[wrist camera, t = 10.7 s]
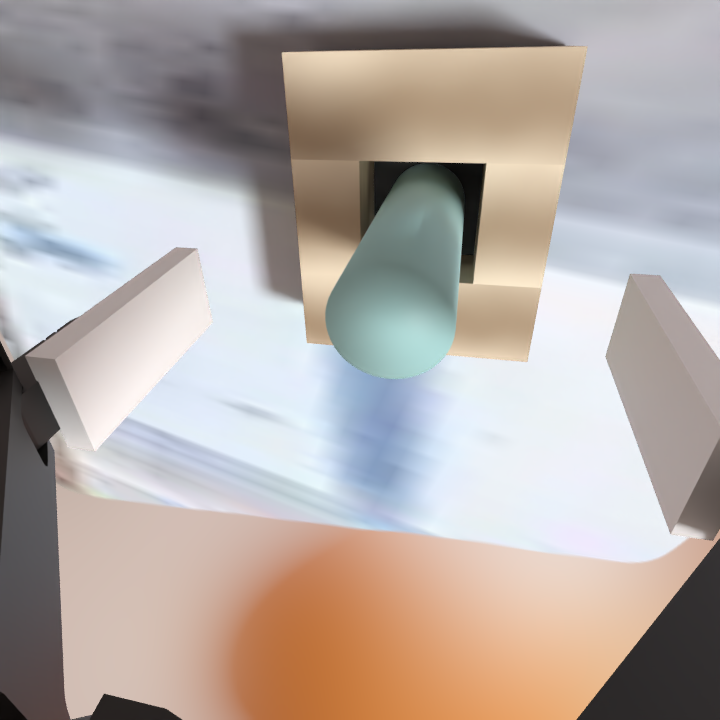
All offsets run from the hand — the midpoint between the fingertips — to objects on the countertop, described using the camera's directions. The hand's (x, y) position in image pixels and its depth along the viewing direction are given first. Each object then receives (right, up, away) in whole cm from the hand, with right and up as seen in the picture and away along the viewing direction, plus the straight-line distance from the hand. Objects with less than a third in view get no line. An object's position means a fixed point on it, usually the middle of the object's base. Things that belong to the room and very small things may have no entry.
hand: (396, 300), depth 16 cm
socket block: (+2, +7, +11) cm, 13 cm away
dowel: (+2, +7, +11) cm, 13 cm away
